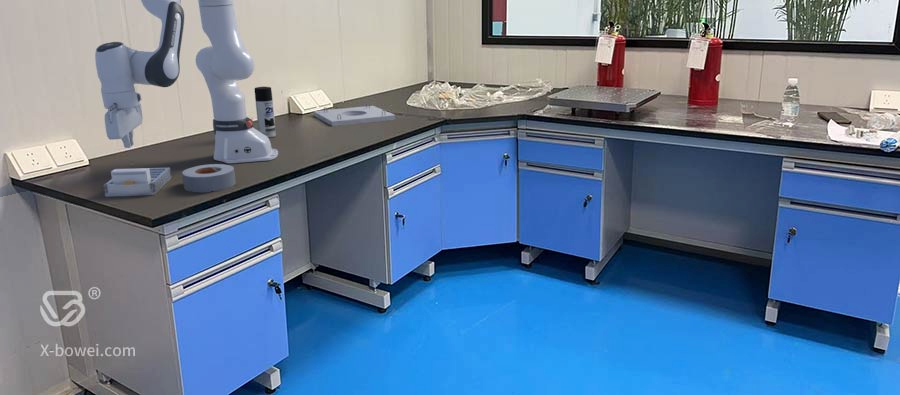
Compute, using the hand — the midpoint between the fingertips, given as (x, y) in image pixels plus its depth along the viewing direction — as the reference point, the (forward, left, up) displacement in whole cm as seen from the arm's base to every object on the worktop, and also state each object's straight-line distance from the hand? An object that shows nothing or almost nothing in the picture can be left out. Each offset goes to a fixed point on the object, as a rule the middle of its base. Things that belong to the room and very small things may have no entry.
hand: (129, 146), depth 196 cm
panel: (+1, 0, -13) cm, 13 cm away
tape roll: (-21, -5, -15) cm, 26 cm away
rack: (+1, -5, -14) cm, 15 cm away
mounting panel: (-63, -106, -15) cm, 124 cm away
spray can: (-28, -71, -14) cm, 78 cm away
